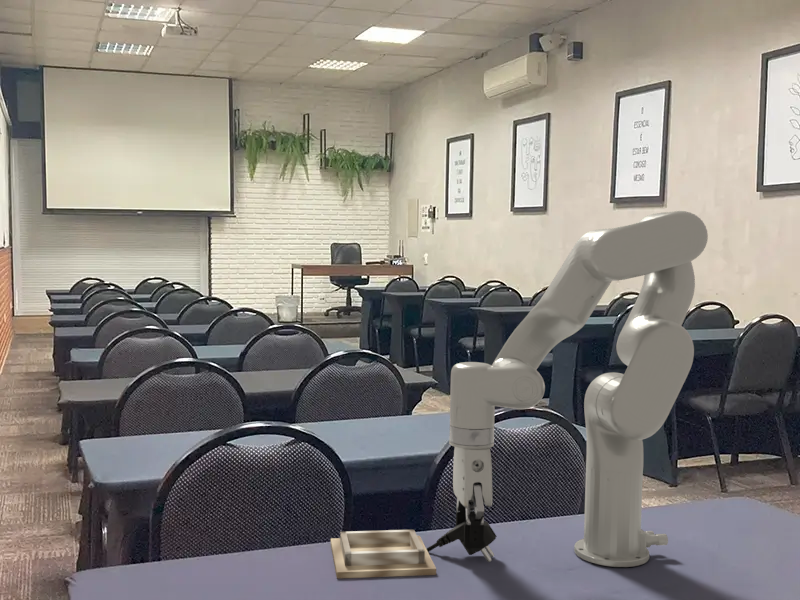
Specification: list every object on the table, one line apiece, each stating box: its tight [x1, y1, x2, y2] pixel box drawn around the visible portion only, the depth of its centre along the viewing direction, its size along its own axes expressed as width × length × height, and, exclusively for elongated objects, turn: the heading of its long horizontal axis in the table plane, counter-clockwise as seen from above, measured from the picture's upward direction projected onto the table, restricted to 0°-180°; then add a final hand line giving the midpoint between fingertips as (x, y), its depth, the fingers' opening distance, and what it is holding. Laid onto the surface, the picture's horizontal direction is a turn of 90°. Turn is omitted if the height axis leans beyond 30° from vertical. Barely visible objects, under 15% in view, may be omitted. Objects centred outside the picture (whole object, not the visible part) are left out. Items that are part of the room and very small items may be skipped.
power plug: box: [426, 520, 497, 563], centre depth 145 cm, size 6×8×12 cm
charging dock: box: [330, 529, 437, 579], centre depth 143 cm, size 16×16×3 cm
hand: (469, 539), depth 144 cm, fingers closed on power plug, 5 cm apart
